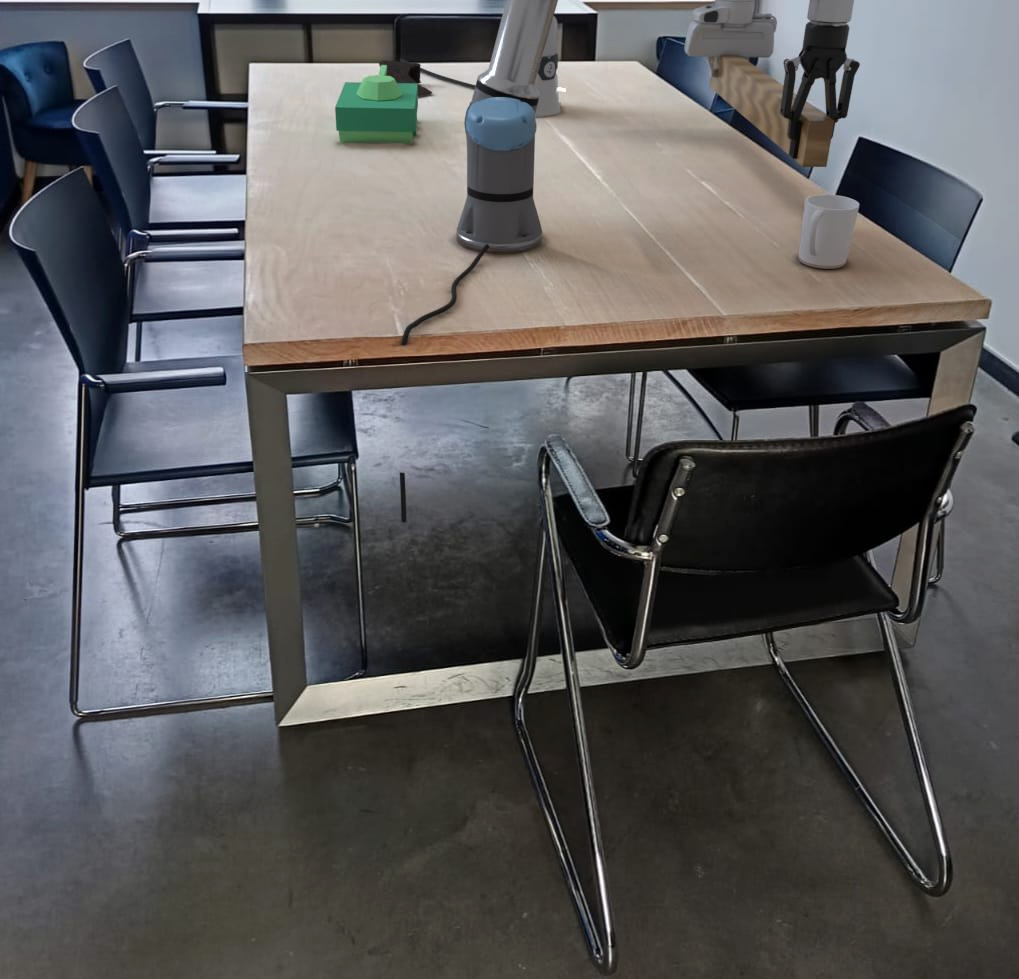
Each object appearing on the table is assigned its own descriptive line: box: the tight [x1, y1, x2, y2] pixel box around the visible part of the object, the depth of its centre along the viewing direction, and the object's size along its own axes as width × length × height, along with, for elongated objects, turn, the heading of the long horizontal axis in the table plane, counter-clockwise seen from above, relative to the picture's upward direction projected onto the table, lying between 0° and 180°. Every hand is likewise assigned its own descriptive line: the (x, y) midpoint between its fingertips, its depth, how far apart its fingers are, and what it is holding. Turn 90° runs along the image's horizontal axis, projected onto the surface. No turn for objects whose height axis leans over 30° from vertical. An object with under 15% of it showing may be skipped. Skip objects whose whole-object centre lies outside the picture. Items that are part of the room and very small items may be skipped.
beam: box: [708, 55, 834, 168], centre depth 228 cm, size 70×4×8 cm, turn 5°
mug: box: [798, 193, 860, 270], centre depth 186 cm, size 11×9×10 cm
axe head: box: [378, 59, 433, 98], centre depth 299 cm, size 18×8×15 cm
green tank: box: [334, 65, 419, 144], centre depth 261 cm, size 18×12×35 cm
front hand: (806, 156), depth 204 cm, fingers closed on beam, 4 cm apart
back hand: (725, 77), depth 254 cm, fingers closed on beam, 4 cm apart
